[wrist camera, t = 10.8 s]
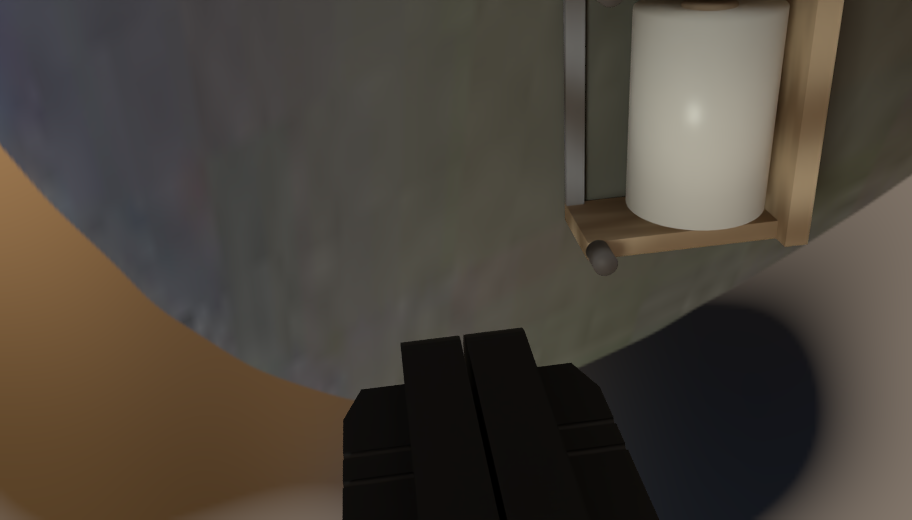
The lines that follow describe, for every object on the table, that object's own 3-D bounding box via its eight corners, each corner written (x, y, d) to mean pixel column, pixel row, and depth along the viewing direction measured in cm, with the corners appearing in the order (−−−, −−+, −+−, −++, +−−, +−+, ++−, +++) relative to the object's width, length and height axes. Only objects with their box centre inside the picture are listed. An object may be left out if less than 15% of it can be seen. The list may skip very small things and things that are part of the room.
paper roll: (789, -12, 40) (643, -12, 42) (791, 20, 34) (622, 18, 36) (765, 181, 45) (635, 173, 47) (763, 238, 39) (615, 225, 41)
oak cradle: (561, -44, 40) (597, -22, 34) (785, -64, 40) (859, -46, 35) (563, 220, 46) (593, 277, 41) (756, 199, 47) (813, 251, 41)
